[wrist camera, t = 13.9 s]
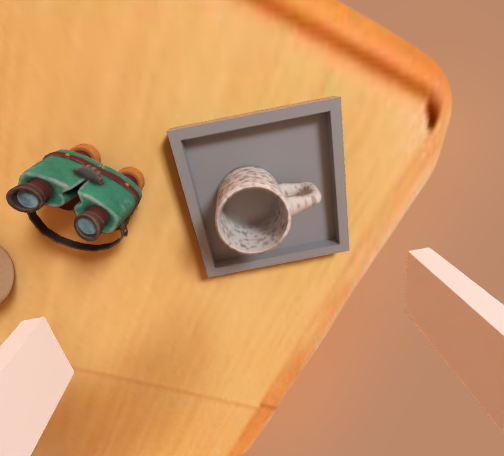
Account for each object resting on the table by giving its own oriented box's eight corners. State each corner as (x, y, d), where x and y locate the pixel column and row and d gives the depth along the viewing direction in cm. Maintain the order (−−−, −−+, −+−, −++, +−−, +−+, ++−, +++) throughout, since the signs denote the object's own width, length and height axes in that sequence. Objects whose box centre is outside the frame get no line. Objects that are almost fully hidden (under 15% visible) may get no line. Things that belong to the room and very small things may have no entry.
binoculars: (-30, 265, 25) (-6, 156, 20) (46, 207, 34) (72, 124, 30) (85, 308, 27) (126, 219, 23) (126, 243, 36) (161, 171, 32)
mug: (226, 231, 35) (226, 262, 29) (209, 174, 32) (204, 195, 26) (315, 209, 35) (333, 236, 28) (305, 150, 32) (323, 165, 26)
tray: (209, 267, 37) (208, 277, 35) (170, 128, 31) (166, 131, 29) (342, 241, 37) (349, 250, 35) (333, 96, 30) (340, 97, 28)
